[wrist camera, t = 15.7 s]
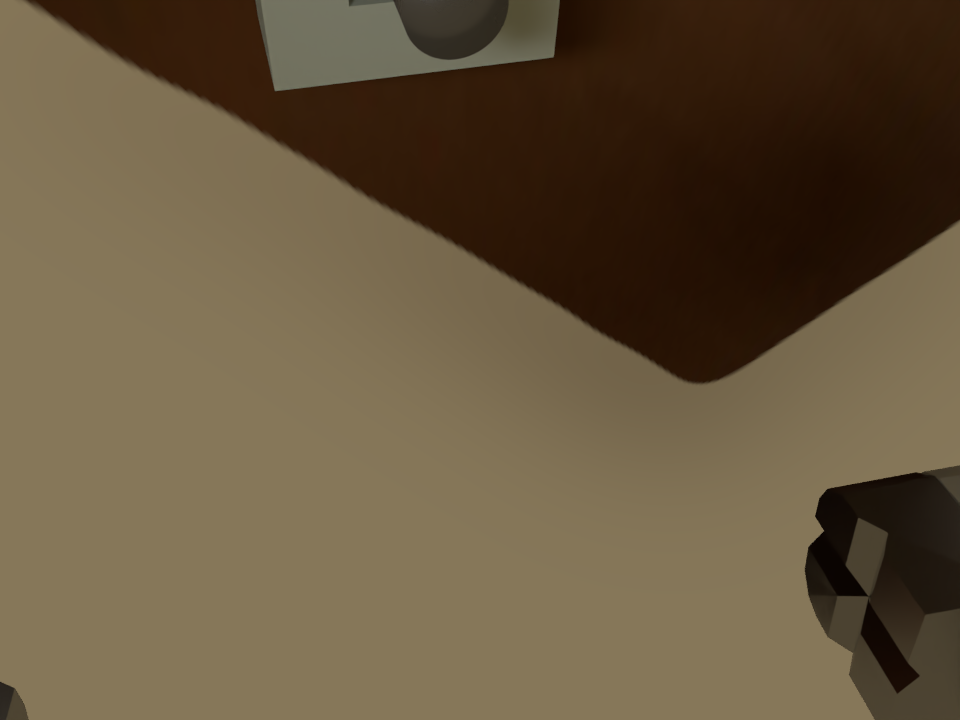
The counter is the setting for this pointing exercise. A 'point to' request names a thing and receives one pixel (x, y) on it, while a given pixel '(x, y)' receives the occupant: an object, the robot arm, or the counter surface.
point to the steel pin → (452, 25)
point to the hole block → (382, 41)
